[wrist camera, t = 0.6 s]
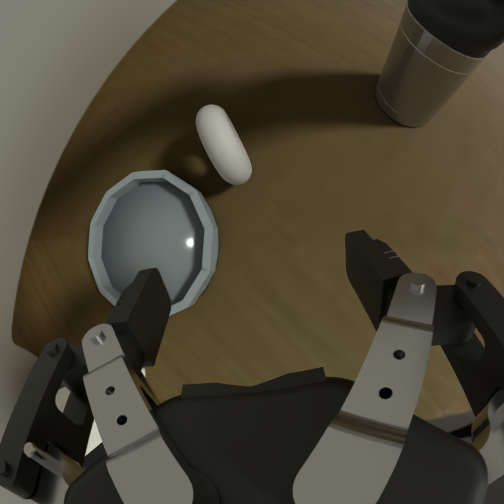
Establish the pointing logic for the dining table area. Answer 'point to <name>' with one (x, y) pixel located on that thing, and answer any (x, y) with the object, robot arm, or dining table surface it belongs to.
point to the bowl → (154, 237)
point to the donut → (223, 144)
